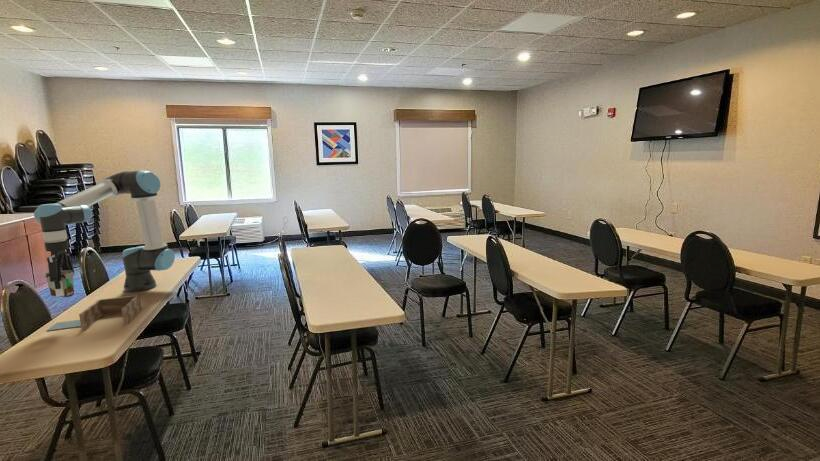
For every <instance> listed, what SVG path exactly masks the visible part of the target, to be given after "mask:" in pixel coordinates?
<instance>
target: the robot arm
mask: <svg viewBox="0 0 820 461" xmlns="http://www.w3.org/2000/svg"><path fill="white" fill-rule="evenodd" d="M160 188H161V180H160V179H159V177H158V175H157V174H156V173H154V172H152V171H149V170H135V171H134V170H132V171H131V170H129V171H127V170H126V171H120V172H118V173H115V174H112V175H110V176H108V177H105V178H103V179H101V180H100V181H99V183H97V184H95V185H93V186H90V187H89V188H87V189H84V190H81V191H80V192H77V193H75V194H73V195H71V196H68V197H66V198H64V199H61V200H60V201H59V200H58V201H57V202H55V203H45V204H39V205H38V207H37V208H35V210H34V211H33V212H34V213H33V217H34V219H35V221H36V222H38V223H39V224H40V227H41V231H42V234H41V236H42V237H43V241H44V248H45V251H46V252H48V253H49V252H50V256H49V257H47V258H46V260H47V265H48V273H49V277H50V282H54V287H55V292H56V296H55V297H57V298H58V296H65V292H64V287H63V281H62V280H61V271H64V270H71V271H72V272H73V273H74V274H75V270H74V266H73V263H72V259H71V254H70V250H68V249H70V245H69V240H68V234H67V228H66V226H67V225H72V224H79V223H86V222H88V221H90V220H92V218H93V211H92V209H91V206H93V205H95V204H97V203H99V202H101V201H103V200H105V199H107V198H114V197H116V196H119V195H125V194H129V195H130V198H131V199H132V200H134V201H135V204H136V209H137V214H138V218H139V222H140V227H141V231H142V236H143V242H144V245H139V246H136V247H135V246H134V247H129V248H126V249H124V250H123V251H122V261H123V266H124V267H123V268H124V272H125V278H124V279H125V280H124V282H123V283H124V284H123V291H125V292H127V293H128V292H129V293H130V292H131V293H132V292H133V293H134V292H141V291H147V290H151V289H153V288H155V287H156V286H157V281H156V279H155V277H154V276H153V274H152V272H151V271H157V272H158V271H166V270H168V269H170V268H171V267H172V266H173V265H174V263H175V259H176V255H175V251H173V250H172V249H170V248H169V246H168V243H166V242H165V241H164V239H163V238H164V237H163V234H162V233H163V232H162V229H161V228H162V227H161V224H160V219H159V213H158V208H157V203H156V198H157V197H158V192H159V191H160V190H161V189H160ZM73 286H74V283H73ZM74 287H75V286H74Z"/></svg>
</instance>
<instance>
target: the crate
mask: <svg viewBox="0 0 820 461" xmlns="http://www.w3.org/2000/svg"><path fill="white" fill-rule="evenodd" d="M140 297H141V295H139V294H135V295H128V296H119V297H118V296H117V297H112V298H110V297H109V298H102V299H97V300H96V301H95V302H93V303H92V304H91V305H90V306H89V307H86V309H85V310H83V311H82V312H81V313H79V314H78V316H79V320H80V322H81V327H80V328H81V331H86V330H87V329H89V328H90V327H91V326H92V325H93V324H94V323H95V322H96V321H97V320H99V319H98V318H100V317H101V318H102V316H103V314H104V315H110V314H119V313H122V315H121V316H122V321H123V326H124V325H128V324H130V322H131V321H132V320H133V319H134V318H135V317H136V316H137V315H138V313H139V312H140V311H141V310H142V305H141V298H140Z"/></svg>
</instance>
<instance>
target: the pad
mask: <svg viewBox="0 0 820 461" xmlns="http://www.w3.org/2000/svg"><path fill="white" fill-rule="evenodd" d="M76 328H81V322H80V319H77V320H68V321H60V322H56V323H54V324H53V325H52V326H51V327H49V328H48V329H46V330H45V331H46V332H52V331H59V330H60V331H61V330H68V329H76Z"/></svg>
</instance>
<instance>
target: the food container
mask: <svg viewBox="0 0 820 461" xmlns="http://www.w3.org/2000/svg"><path fill="white" fill-rule="evenodd" d="M75 276H76V275H75V272H74V273H73V272H72V271H71V270H64V271H63V270H61V280H62V281H63V287H64V292H65V296H58V297H60V298H70V297H72V296H74V295H75V286H73V284H74V277H75ZM44 277H45V279H46V282H47V286H48V288H49V293H50V296H51V297H56V292H55V287H54V282H50V277H49V272H46V273H45V274H44ZM58 297H57V298H58Z"/></svg>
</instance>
